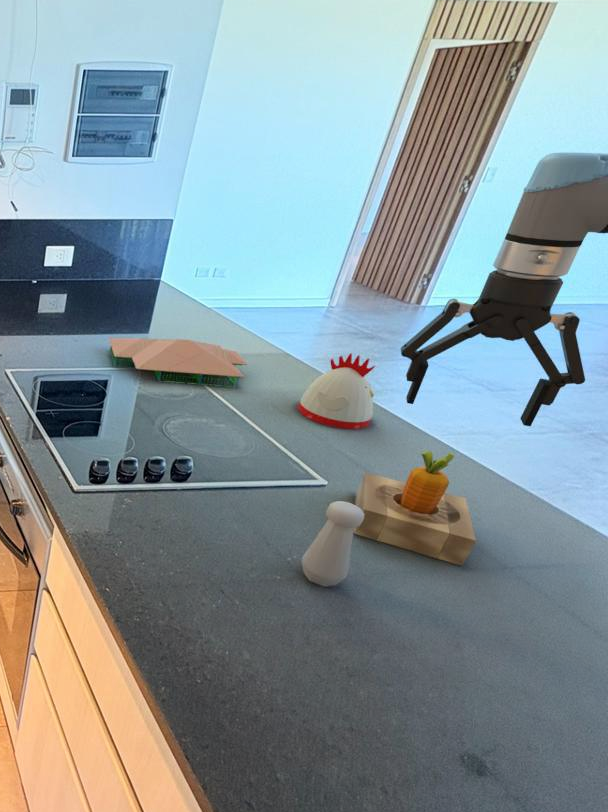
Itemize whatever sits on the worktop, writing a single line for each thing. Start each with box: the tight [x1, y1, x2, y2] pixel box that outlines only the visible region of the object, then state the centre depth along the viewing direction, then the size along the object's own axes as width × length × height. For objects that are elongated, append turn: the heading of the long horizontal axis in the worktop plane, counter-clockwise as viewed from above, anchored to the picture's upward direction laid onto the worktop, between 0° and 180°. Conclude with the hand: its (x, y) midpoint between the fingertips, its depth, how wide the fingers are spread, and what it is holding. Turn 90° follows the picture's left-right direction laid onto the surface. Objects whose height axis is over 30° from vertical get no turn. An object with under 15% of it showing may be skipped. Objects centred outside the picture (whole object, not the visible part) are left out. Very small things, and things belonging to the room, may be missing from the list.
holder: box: [353, 472, 477, 567], centre depth 103 cm, size 14×14×5 cm
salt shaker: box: [301, 500, 364, 588], centre depth 90 cm, size 6×6×13 cm
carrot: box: [400, 450, 456, 514], centre depth 101 cm, size 5×5×15 cm
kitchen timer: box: [297, 352, 376, 430], centre depth 139 cm, size 14×14×15 cm
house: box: [108, 337, 248, 388], centre depth 167 cm, size 23×33×8 cm
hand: (465, 411), depth 94 cm, fingers open, 13 cm apart
